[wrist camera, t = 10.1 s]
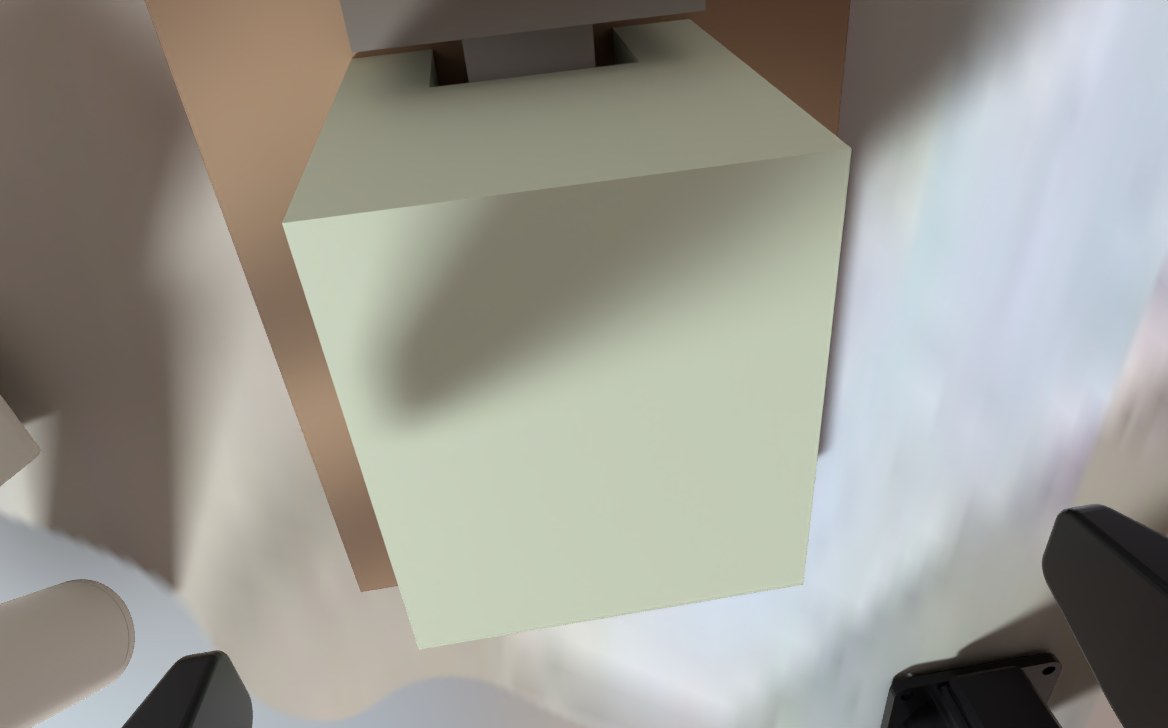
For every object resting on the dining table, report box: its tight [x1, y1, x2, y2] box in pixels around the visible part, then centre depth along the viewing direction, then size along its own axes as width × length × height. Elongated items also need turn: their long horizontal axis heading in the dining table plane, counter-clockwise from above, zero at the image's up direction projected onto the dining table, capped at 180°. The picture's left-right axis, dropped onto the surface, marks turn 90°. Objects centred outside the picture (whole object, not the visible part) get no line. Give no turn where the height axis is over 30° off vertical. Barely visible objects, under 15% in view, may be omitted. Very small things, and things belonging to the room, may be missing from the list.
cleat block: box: [282, 19, 852, 649], centre depth 13 cm, size 7×6×7 cm
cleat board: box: [145, 0, 850, 592], centre depth 16 cm, size 16×12×4 cm
